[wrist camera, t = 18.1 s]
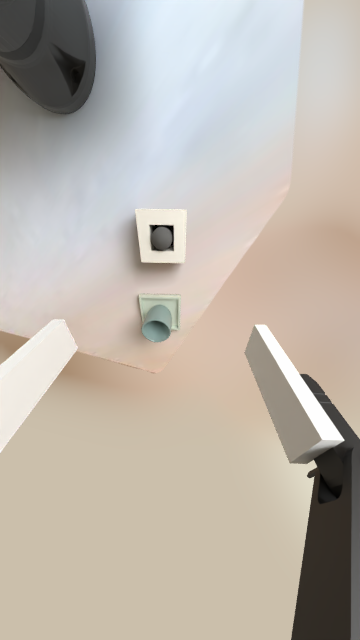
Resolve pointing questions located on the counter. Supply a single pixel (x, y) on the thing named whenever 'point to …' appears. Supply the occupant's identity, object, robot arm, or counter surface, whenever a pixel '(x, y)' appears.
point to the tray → (164, 299)
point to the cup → (157, 323)
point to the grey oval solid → (162, 237)
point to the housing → (146, 228)
